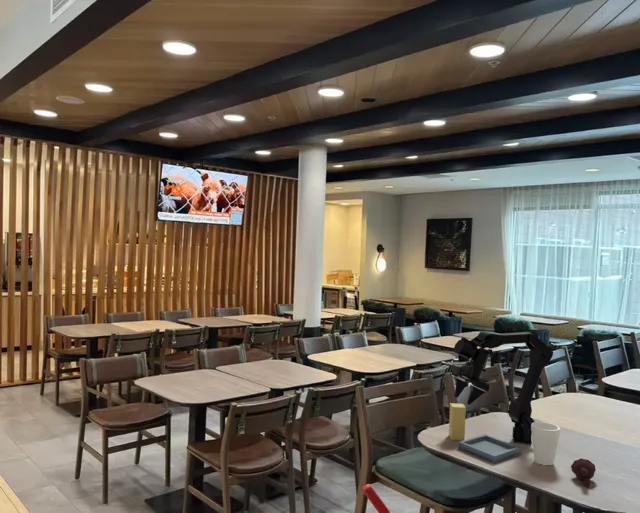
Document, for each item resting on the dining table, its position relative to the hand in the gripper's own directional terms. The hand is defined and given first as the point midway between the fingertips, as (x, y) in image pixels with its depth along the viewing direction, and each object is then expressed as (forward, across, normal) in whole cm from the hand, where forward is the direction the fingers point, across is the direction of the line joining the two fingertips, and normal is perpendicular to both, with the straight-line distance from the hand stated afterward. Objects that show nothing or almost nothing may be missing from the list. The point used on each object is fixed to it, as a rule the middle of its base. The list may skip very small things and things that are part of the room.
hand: (461, 400), depth 204 cm
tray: (+13, +8, +14) cm, 20 cm away
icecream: (+6, +35, +30) cm, 47 cm away
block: (+15, -7, +9) cm, 19 cm away
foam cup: (+8, +20, +27) cm, 34 cm away
